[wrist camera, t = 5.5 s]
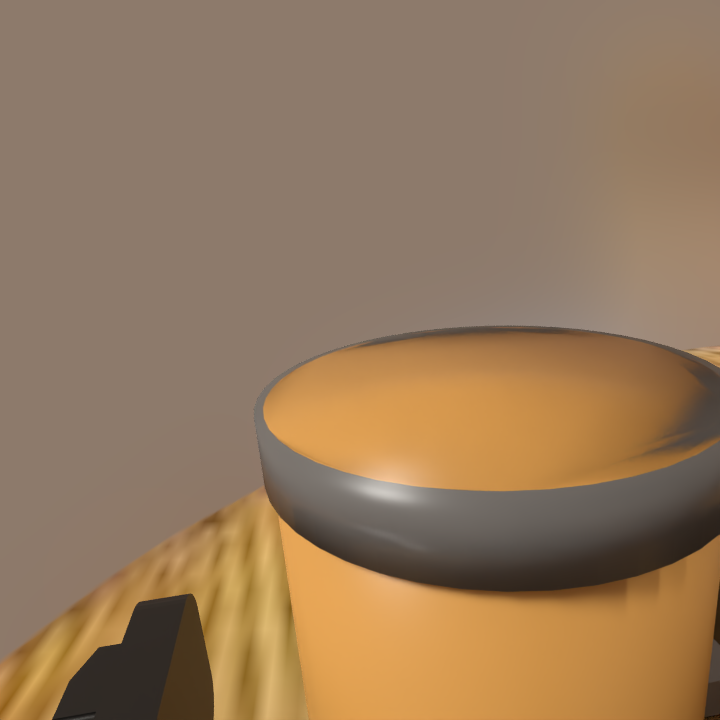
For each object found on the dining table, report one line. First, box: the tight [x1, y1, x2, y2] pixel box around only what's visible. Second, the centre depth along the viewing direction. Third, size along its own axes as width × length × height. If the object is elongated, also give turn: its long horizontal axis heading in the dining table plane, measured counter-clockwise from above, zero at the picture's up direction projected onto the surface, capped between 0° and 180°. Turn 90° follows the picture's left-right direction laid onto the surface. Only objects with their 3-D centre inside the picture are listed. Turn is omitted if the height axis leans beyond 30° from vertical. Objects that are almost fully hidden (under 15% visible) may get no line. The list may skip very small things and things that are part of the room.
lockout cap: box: [254, 326, 720, 720], centre depth 8 cm, size 6×6×10 cm
